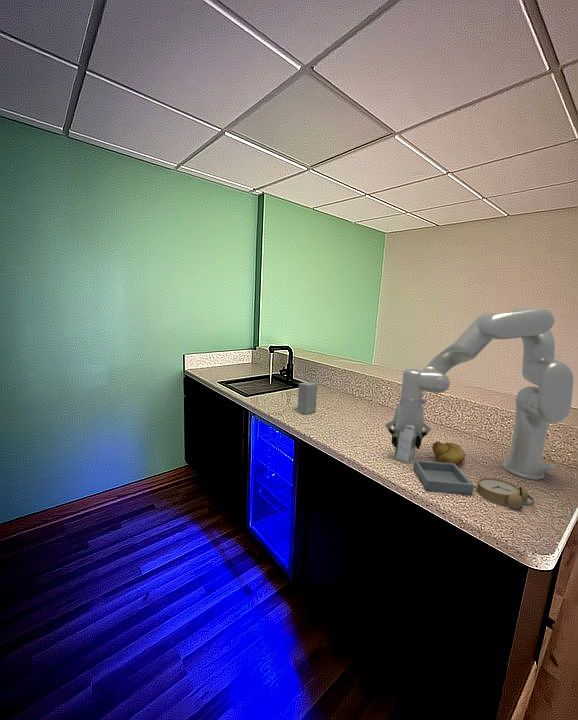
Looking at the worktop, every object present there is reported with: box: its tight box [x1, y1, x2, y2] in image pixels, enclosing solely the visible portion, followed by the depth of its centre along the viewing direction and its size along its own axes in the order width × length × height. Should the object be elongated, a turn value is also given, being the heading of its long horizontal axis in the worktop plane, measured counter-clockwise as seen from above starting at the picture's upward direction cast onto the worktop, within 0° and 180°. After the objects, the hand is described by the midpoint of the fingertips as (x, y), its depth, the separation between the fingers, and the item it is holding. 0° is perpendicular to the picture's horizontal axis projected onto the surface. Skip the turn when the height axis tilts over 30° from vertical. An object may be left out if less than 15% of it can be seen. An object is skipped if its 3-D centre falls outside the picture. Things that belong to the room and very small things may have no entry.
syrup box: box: [393, 425, 417, 464], centre depth 122 cm, size 6×6×14 cm
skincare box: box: [297, 381, 318, 416], centre depth 171 cm, size 8×7×16 cm
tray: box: [412, 459, 475, 496], centre depth 107 cm, size 14×14×4 cm
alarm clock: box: [473, 477, 535, 510], centre depth 99 cm, size 11×5×15 cm
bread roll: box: [431, 441, 466, 467], centre depth 122 cm, size 13×10×8 cm
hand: (405, 446), depth 122 cm, fingers closed on syrup box, 7 cm apart
